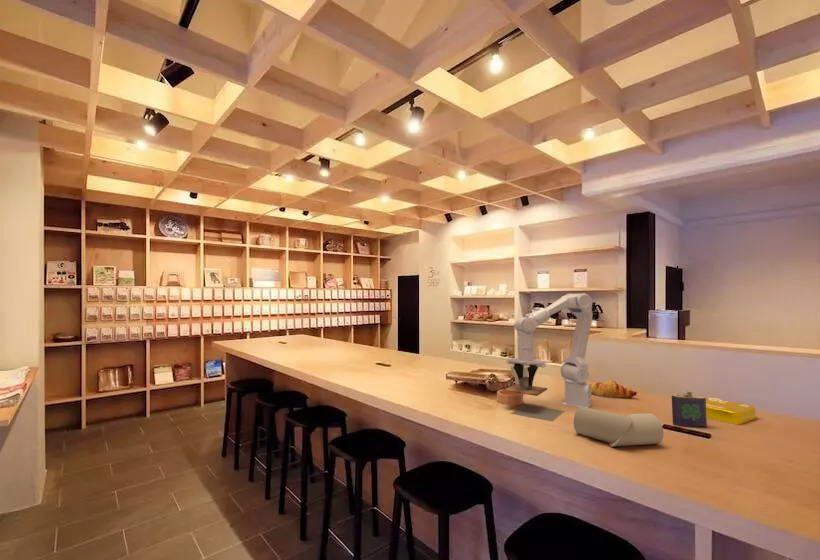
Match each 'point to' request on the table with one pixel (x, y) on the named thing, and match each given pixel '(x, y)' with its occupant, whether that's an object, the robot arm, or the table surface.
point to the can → (513, 372)
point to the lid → (525, 388)
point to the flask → (689, 410)
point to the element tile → (729, 411)
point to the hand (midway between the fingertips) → (525, 384)
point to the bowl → (509, 398)
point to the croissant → (611, 390)
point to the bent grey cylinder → (618, 427)
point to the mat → (538, 412)
